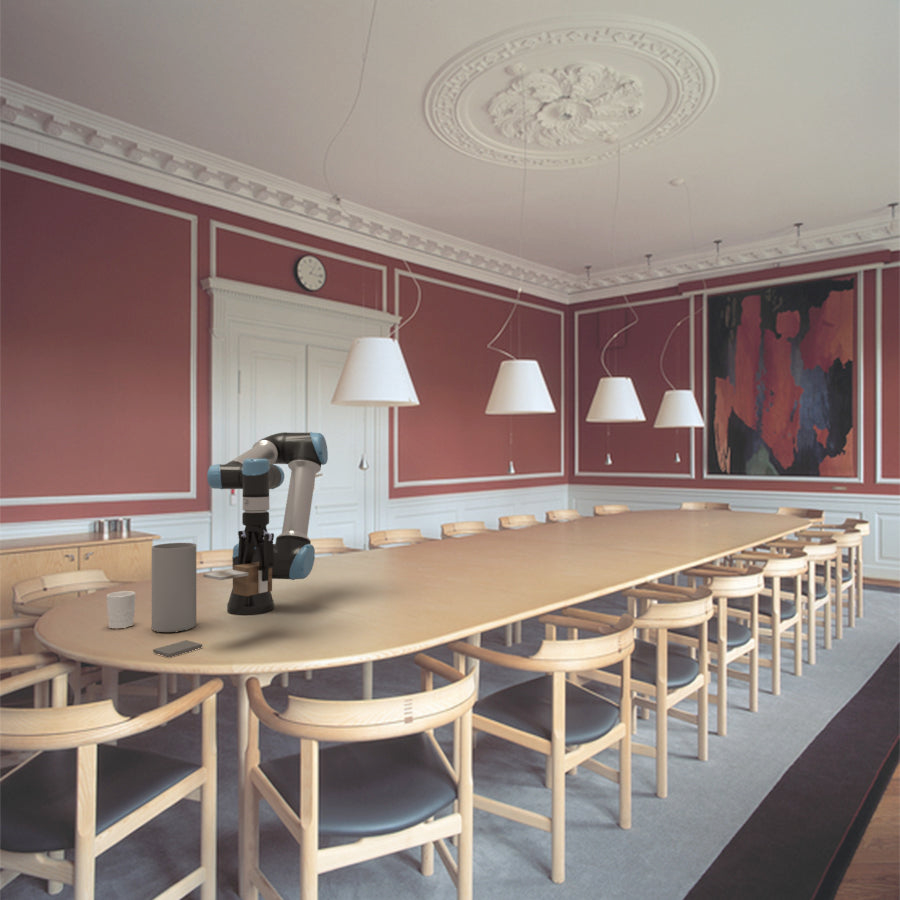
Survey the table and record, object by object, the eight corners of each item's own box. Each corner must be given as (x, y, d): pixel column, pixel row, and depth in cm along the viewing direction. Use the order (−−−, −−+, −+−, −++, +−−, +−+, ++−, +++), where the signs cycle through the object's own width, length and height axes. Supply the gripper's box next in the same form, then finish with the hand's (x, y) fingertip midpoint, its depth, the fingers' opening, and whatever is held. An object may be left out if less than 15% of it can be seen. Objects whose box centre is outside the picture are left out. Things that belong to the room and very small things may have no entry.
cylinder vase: (165, 621, 205) (165, 542, 205) (203, 623, 204) (203, 543, 204) (143, 633, 193) (143, 548, 193) (183, 634, 192) (183, 549, 192)
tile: (186, 645, 182) (153, 655, 174) (186, 640, 182) (153, 649, 174) (202, 649, 178) (169, 659, 170) (202, 644, 178) (169, 653, 170)
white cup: (141, 623, 203) (141, 591, 203) (123, 630, 195) (123, 597, 195) (119, 622, 205) (119, 590, 205) (100, 629, 197) (100, 596, 197)
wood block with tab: (257, 588, 196) (257, 561, 196) (274, 591, 191) (274, 564, 191) (203, 598, 181) (203, 569, 181) (220, 602, 176) (220, 572, 177)
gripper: (225, 510, 193) (224, 588, 193) (266, 514, 182) (265, 597, 182) (246, 508, 199) (246, 584, 199) (287, 512, 188) (287, 592, 188)
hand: (255, 590), depth 190 cm, fingers closed on wood block with tab, 6 cm apart
